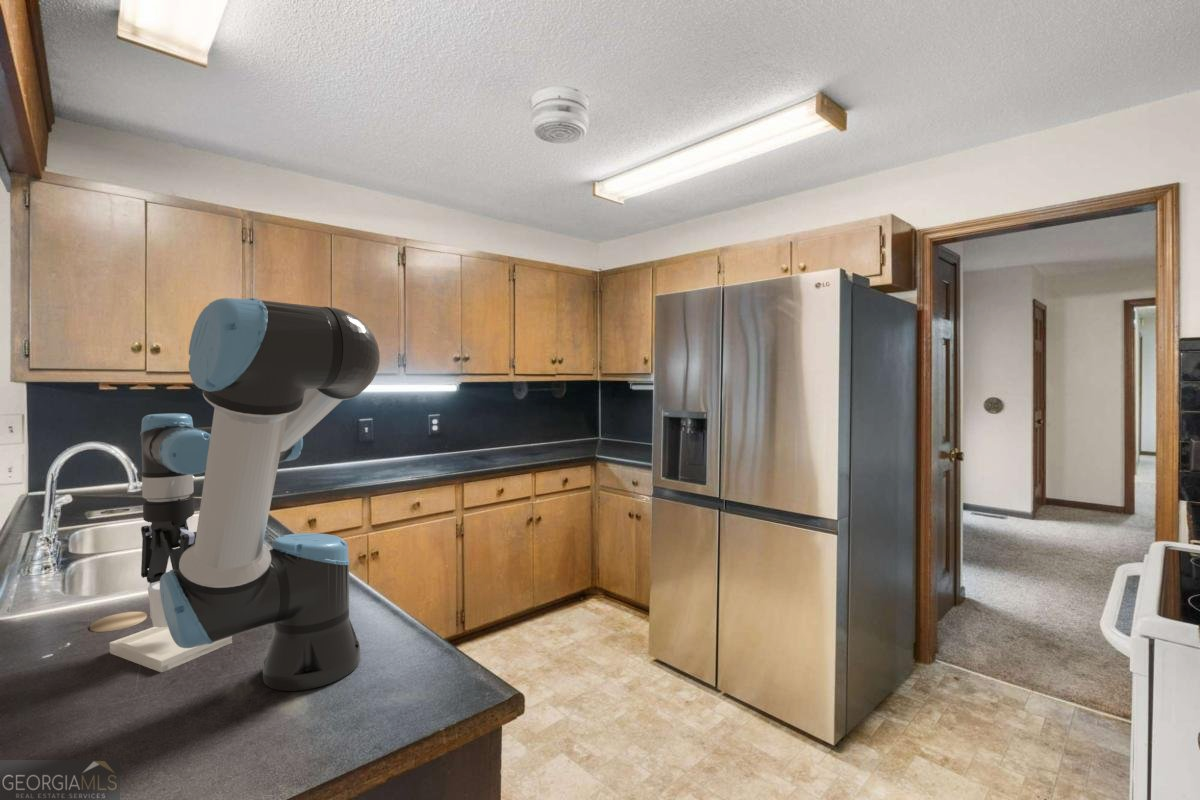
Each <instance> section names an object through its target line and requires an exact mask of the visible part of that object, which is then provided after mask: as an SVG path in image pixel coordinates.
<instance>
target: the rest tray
mask: <svg viewBox="0 0 1200 800" xmlns="http://www.w3.org/2000/svg"><path fill="white" fill-rule="evenodd" d="M230 644H233V636H232V637H228V638H225V639H222V640H219V641H216V642H214V643H211V644H205V645H201V646H197V647H193V648H182V647H179V646H178V645H177V644H176V643H175V642H174V640H173V638H172V636H171V634H170V631H169V628H168V627H155V626H152V627H149V628H147V629H144V630H141V631H138V632H136V633H132V634H130V635H127V636H125V637H124V636H123V637H121V638H118V639H116V640H113V641H110V642H109V653H110V655H114V656H116V657H119V658H122V659H124V660H126V661H129V662H131V663H132V662H133V663H135V664H138V665H140V666H142V667H145V668H148V669H150V670H154V671H156V672H158V673H161V674H163V673H164V672H167V671H170V670H171V669H174V668H176V667H178V666H181V665H183V664H185V663H188V662H190V661H193V660H195V659H197V658H200V657H202V656H204V655H207V654H209V653H211V652H214V651H216V650H219V649H221V648H224V647H225V646H228V645H230Z"/></svg>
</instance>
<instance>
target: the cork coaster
mask: <svg viewBox="0 0 1200 800" xmlns="http://www.w3.org/2000/svg"><path fill="white" fill-rule="evenodd" d="M147 618H148V614H147V613H146V612H145V611H126V612H121V613H115V614H112V615H111V614H110V615H108V616H105V617H102V618H99V619H97V620H95V621H93V622H92V623H91V624H90V625H89V630H90V631H91V632H96V633H106V632H112V631H113V632H115V631H119V630H120V631H121V630H124V629H126V628H127V629H128V628H131V627H134V626H135V625H139V624H141V623H142V622H144V621H146V619H147Z"/></svg>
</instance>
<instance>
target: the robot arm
mask: <svg viewBox="0 0 1200 800" xmlns="http://www.w3.org/2000/svg"><path fill="white" fill-rule="evenodd" d="M379 348H380V347H379V344H378V341H377V339H376V338H375V335H374V334H373V333H372V331H371V330H370V327H368V326H367V324H365V322H363V320H361V319H359V318H358V317H357V316H355V315H354V314H352V313H350V312H349V311H346V310H344V309H339V308H336V307H330V306H315V305H307V304H306V305H305V304H297V303H289V302H288V303H287V302H277V301H269V300H260V299H258V298H255V297H254V298H253V297H251V298H229V297H228V298H227V297H226V298H218V299H215V300H213V301H211V302H210V303H209V304H208V305H207V306H206V307H204V308H203V309H202V311H201V312H200V314H198V317H197V319H196V321H195V323H194V326H193V329H192V332H191V337H190V341H189V347H188V355H189V359H188V360H189V361H188V370H189V375H190V379H191V381H192V383H193V384H194V386H196V387H197V388H198V389H201V390H202V396H203V398H204V400H205V401H206V402H207V403H208V404H209V405H211V406H212V407H213V408H214V410H213V416H212V424H211V426H206V427H194V421H193V417H192V416H191V415H190V414H188V413H176V412H174V413H154V414H147V415H145V416H144V417H143V418H142V419H141V430H140V433H139V436H140V438H141V439H140V440H141V464H142V465H141V466H142V467H141V468H142V471H141V472H142V475H141V489H142V491H141V492H142V493H141V495H142V499H145V500H144V501H143V502H142V519H143V521H144V522H147V523H151V524H148V525H143V526H141V528H140V530H141V531H140V532H141V536H142V537H141V538H142V541H141V542H142V543H141V544H142V545H141V546H142V547H141V566H140V575H141V578H144V579H145V578H146V582H147V583H149V586H150V585H152V584H154V583H157V582H160V595H161V601H162V606H163V611H164V615H165V619H166V622H167V625H168V628H169V631H170V634H171V636H172V638H173V640H174V642H175V643H176V644H177V645H178V646H179V647H182V648H193V647H197V646H201V645H205V644H211V643H214V642H216V641H219V640H222V639H225V638H228V637H232V638H233V637H234V636H237V635H241V634H243V633H248V632H250V631H253V630H256V629H259V628H262V627H266V626H268V625H272V624H273V627H274V631H273V634H272V637H271V640H270V645H269V646H268V651H267V654H266V657H265V659H264V661H263V663H262V664H263V665H262V680H263V684H265V685H266V686H267V687H268V688H270V689H273V690H277V691H282V692H296V691H297V692H299V691H306V690H311V689H315V688H320V687H323V686H327V685H329V684H332V683H334V682H337V681H339V680H341V679H343V678H345V677H346V676H348V675H350V674H351V673H352V672H354V670H356V668H357V667H358V666H359V664H360V662H361V645H360V643H359V640H358V638H357V635H356V632H355V630H354V627H353V624H352V622H351V619H350V564H351V562H350V561H351V560H350V556H349V554H350V553H349V548H348V547H349V546H348V542H346V540H344V539H343V538H342V537H340V536H337V535H332V534H327V533H318V532H317V533H315V532H314V533H313V532H310V533H309V532H304V533H302V532H299V533H290V534H284V535H280V536H279V537H275V538H274V539H273V541H272V544H271V548H272V549H269V547H267V546H266V545H265V544H264V541H265V536H266V532H267V531H266V530H267V525H268V520H269V515H270V509H271V506H272V505H271V504H272V499H273V494H274V488H275V482H276V479H277V478H276V477H277V473H278V469H279V468H278V467H279V464H280V463H283V462H289V461H294V460H296V459H298V458H299V457H300V455H301V451H302V450H303V445H304V439H303V437H304V436H306V434H308V433H309V432H310V431H311V430H312V429H313V428H315V426H316V425H317V424H318V423H320V422H321V420H323V419H324V418H325V417H326V416H327V415H329V413H331V411H333V410H334V409H335V408H336V407H337V406H338V405H339V404H340V403H341V402H342V401H345V400H347V401H348V400H351V399H353V398H356V397H357V396H359V395H360V394H361V393H362V392H364V390H366V388H368V387H369V385H370V384H371V383H372V382H373V380H374V378H375V377H376V375H377V373H378V370H379V366H380V361H381V360H380V358H381V357H380V349H379ZM199 474H204V479H203V486H202V490H201V491H202V494H201V500H200V505H199V514H198V518H197V527H196V531H193V532H192V531H190V530H189V525H188V522H187V520H188V519H189V518H191V517H193V516H194V514H195V497H194V496H193V495H192V494H193V493H195V492H194V489H195V488H194V487H195V486H194V481H195V476H194V475H199ZM169 560H170V563H171V568H172V569H170V570H169V571H167V567H168V565H169V564H168V563H169ZM149 617H150V619H152V616H151V609H150V608H149Z"/></svg>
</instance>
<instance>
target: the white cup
mask: <svg viewBox="0 0 1200 800" xmlns="http://www.w3.org/2000/svg"><path fill="white" fill-rule="evenodd" d="M147 592H148V593H147V595H148V600H149V610H150V609H151V616H152V618H151V622H152V627H168V625H167V622H166V619H165V615H164V611H163V606H162V601H161V595H160V582H157V583H154V584H152V585H150V584H149V585H148V587H147Z"/></svg>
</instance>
